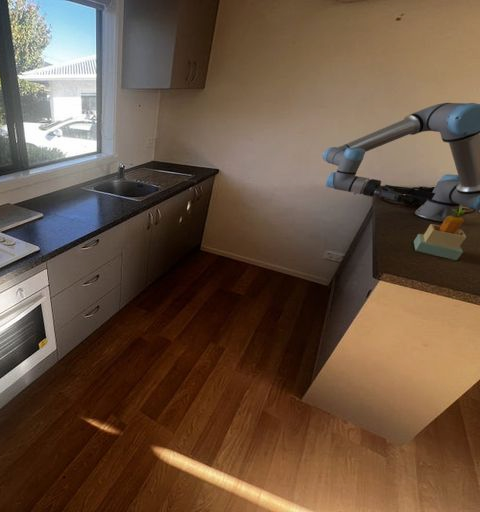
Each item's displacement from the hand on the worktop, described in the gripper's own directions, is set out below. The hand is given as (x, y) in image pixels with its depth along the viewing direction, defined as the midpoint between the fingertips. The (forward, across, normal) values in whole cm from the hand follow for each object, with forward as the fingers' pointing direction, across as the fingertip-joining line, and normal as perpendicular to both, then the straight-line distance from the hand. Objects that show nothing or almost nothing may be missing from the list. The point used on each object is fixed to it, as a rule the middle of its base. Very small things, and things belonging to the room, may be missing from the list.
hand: (429, 199), depth 120 cm
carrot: (+10, 0, -16) cm, 19 cm away
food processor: (+10, 0, -20) cm, 22 cm away
